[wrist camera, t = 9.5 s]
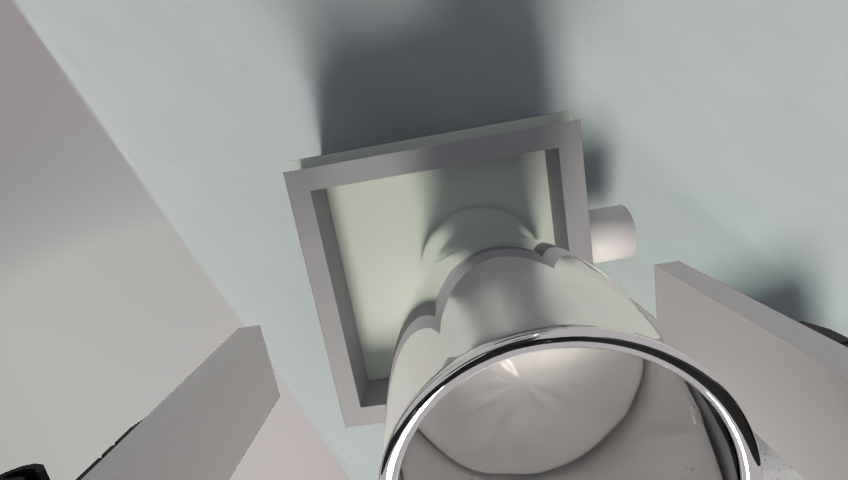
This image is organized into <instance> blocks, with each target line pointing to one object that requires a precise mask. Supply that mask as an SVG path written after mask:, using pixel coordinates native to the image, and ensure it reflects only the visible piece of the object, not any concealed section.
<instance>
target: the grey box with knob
mask: <svg viewBox="0 0 848 480" xmlns="http://www.w3.org/2000/svg"><path fill="white" fill-rule="evenodd" d="M289 163H290V167H291V171H289V172H284V173H283V174H284V178H285V182H286V186H287V190H288V194H289V199H290V203H291V207H292V211H293V215H294V219H295V223H296V227H297V231H298V235H299V240H300V244H301V248H302V252H303V256H304V260H305V264H306V268H307V272H308V276H309V281H310V285H311V289H312V293H313V297H314V301H315V305H316V309H317V313H318V317H319V321H320V326H321V330H322V334H323V338H324V342H325V346H326V350H327V354H328V358H329V362H330V367H331V371H332V375H333V379H334V383H335V387H336V391H337V395H338V399H339V403H340V408H341V412H342V416H343V420H344V424H345V428H347V427H354V426H362V425H369V424H376V423H384V421H385V407H386V395H387V385H388V378H389V372H390V365H391V359H392V352H393V348H394V344H395V340H396V337H397V333H398V330H399V327H400V323H401V320H402V317H403V314H404V312H405V309H406V307H407V305H408V303H409V301H410V299H411V297H412V296H413V294H414V292H415V290H416V288H417V286H418V285H419V283H420V282H421V280H422V279H423V275H422V255H423V251H424V247H425V244H426V242H427V240H428V238H429V236H430V235H431V233H432V232H433V230H434V229H435V228H436V227H437V226H438V225H439V224H440V223H441V222H442V221H443V220H444V219H446V218H447V217H448V216H450V215H452V214H454V213H456V212H458V211H461V210H464V209H467V208H472V207H494V208H498V209H502V210H504V211H507V212H509V213H511V214H513V215H514V216H516V217H517V218H519V219H520V220H521V221H522V222H523V223H524V224H525V225H526V226H527V227H528V228H529V229H530V231H531V232H532V233H533V235H534V237H535V239H538V240H541V241H545V242H547V243H550V244H552V245H555V246H557V247H560V248H562V249H565V250H567V251H569V252H571V253H573V254H575V255H577V256H579V257H580V258H582V259H584V260H585V261H587V262H588V263H590V264H591V265H593V263H598V262H604V261H611V260H617V259H623V258H630V257H632V256H633V255H634V253H635V250H636V244H637V237H636V229H635V225H634V222H633V219H632V216H631V214H630V212H629V211H628V209H627V208H626V207H625V206H623V205H618V206H612V207H606V208H599V209H593V210H588V201H587V190H586V179H585V168H584V157H583V146H582V135H581V125H580V119H579V120H574V121H573V112H572V110H569V111H563V112H558V113H552V114H547V115H541V116H536V117H530V118H525V119H519V120H514V121H508V122H503V123H497V124H492V125H486V126H480V127H475V128H469V129H464V130H458V131H453V132H447V133H442V134H436V135H431V136H425V137H420V138H414V139H409V140H403V141H398V142H392V143H387V144H381V145H375V146H370V147H364V148H359V149H353V150H348V151H342V152H337V153H331V154H326V155H320V156H315V157H309V158H304V159H298V160H293V161H289Z"/></svg>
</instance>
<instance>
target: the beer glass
mask: <svg viewBox="0 0 848 480" xmlns="http://www.w3.org/2000/svg"><path fill="white" fill-rule="evenodd" d="M422 275H423V279H422V280H421V282H420V283H419V285H418V286H417V288H416V290H415V292H414V294H413V296H412V297H411V299H410V301H409V303H408V305H407V307H406V309H405V312H404V314H403V317H402V320H401V323H400V327H399V330H398V333H397V337H396V340H395V344H394V348H393V352H392V359H391V365H390V372H389V378H388V385H387V395H386V407H385V421H384V441H383V456H382V462H381V466H380V472H379V478H378V480H763V468H762V460H761V455H760V450H759V447H758V443H757V440H756V437H755V434H754V432H753V429H752V427H751V425H750V422H749V421H748V419H747V417H746V415H745V413H744V412H743V410H742V408H741V407H740V405H739V404H738V402H737V401H736V400H735V398H734V397H733V396H732V394H731V393H730V392H729V391H728V390H727V388H726V387H725V386H724V385H723V384H722V383H721V382H720V381H719V380H718V379H717V378H716V377H715V376H714V375H712V374H711V373H710V372H709V371H708V370H706V369H705V368H704V367H703V366H701V365H700V364H699V363H697V362H696V361H695V360H694V359H693V358H692V357H691V356H690V355H689V353H688V352H687V351H686V350H685V349H684V348H683V347H682V346H681V345H680V344H679V343H678V342H677V340H676V339H675V338H674V337H673V336H672V335H671V334H670V333H669V332H668V331H667V330H666V329H665V328H664V327H663V326H662V325H661V324H660V323H659V322H658V321H657V320H656V319H655V318H654V317H653V316H652V315H651V314H650V313H649V312H648V311H647V310H646V309H645V308H644V307H643V306H642V305H641V304H640V303H639V302H638V301H637V300H636V299H634V298H633V297H632V296H631V295H630V294H629V293H628V292H626V291H625V290H624V289H623V288H622V287H621V286H620V285H618V284H617V283H616V282H615V281H614V280H612V279H611V278H610V277H609V276H607V275H606V274H604V273H603V272H601V271H600V270H598V269H597V268H596V267H594V266H593V265H591V264H590V263H588V262H587V261H585V260H584V259H582V258H580V257H579V256H577V255H575V254H573V253H571V252H569V251H567V250H565V249H562V248H560V247H557V246H555V245H552V244H550V243H547V242H545V241H541V240H538V239H535V237H534V235H533V233H532V232H531V231H530V229H529V228H528V227H527V226H526V225H525V224H524V223H523V222H522V221H521V220H520V219H519V218H517V217H516V216H514V215H513V214H511V213H509V212H507V211H504V210H502V209H498V208H494V207H472V208H467V209H464V210H461V211H458V212H456V213H454V214H452V215H450V216H448V217H447V218H446V219H444V220H443V221H442V222H441V223H440V224H439V225H438V226H437V227H436V228H435V229H434V230H433V232H432V233H431V235H430V236H429V238H428V240H427V242H426V244H425V247H424V251H423V255H422Z"/></svg>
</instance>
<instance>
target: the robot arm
mask: <svg viewBox="0 0 848 480" xmlns="http://www.w3.org/2000/svg"><path fill="white" fill-rule="evenodd" d="M654 274H655V294H656V313H657V321H658V322H659V323H660V324H661V325H662V326H663V327H664V328H665V329H666V330H667V331H668V332H669V333H670V334H671V335H672V336H673V337H674V338H675V339H676V340H677V342H678V343H679V344H680V345H681V346H682V347H683V348H684V349H685V350H686V351H687V352H688V353H689V355H690V356H691V357H692V358H693V359H694V360H695V361H696V362H697V363H699V364H700V365H701V366H703V367H704V368H705V369H706V370H708V371H709V372H710V373H711V374H712V375H714V376H715V377H716V378H717V379H718V380H719V381H720V382H721V383H722V384H723V385H724V386H725V387H726V388H727V390H728V391H729V392H730V393H731V394H732V396H733V397H734V398H735V400H736V401H737V402H738V404H739V405H740V407H741V408H742V410H743V412H744V413H745V415H746V417H747V419H748V421H749V422H750V425H751V427H752V429H753V432H754V433H755V434H756V435H757V436H758V437H760V438H761V439H762V440H763V441H764V442H765V443H766V444H767V445H768V446H769V447H770V448H771V449H772V450H774V451H775V452H776V453H777V454H778V455H779V456H780V457H781V458H782V459H783V460H784V461H785V462H786V463H787V464H789V465H790V466H791V467H792V468H793V469H794V470H795V471H796V472H797V473H798V474H799V475H800V476H801V477H803V478H804V479H805V480H848V338H847V337H845V336H843V335H841V334H839V333H837V332H835V331H832V330H830V329H827V328H824V327H820V326H817V325H813V324H810V323H807V322H803V321H799V322H797V321H795V320H793V319H791V318H789V317H787V316H785V315H783V314H781V313H779V312H777V311H775V310H773V309H771V308H769V307H768V306H766V305H764V304H762V303H760V302H758V301H756V300H754V299H752V298H750V297H748V296H746V295H744V294H742V293H740V292H738V291H736V290H734V289H732V288H730V287H728V286H727V285H725V284H723V283H721V282H719V281H717V280H715V279H713V278H711V277H709V276H707V275H705V274H703V273H701V272H699V271H697V270H695V269H693V268H691V267H689V266H688V265H686V264H684V263H682V262H680V261H675V262H669V263H662V264H656V265H654ZM279 397H280V394H279V391H278V387H277V383H276V380H275V376H274V373H273V369H272V366H271V362H270V359H269V356H268V352H267V349H266V345H265V342H264V338H263V335H262V331H261V328H260V325H258V326H251V327H245V328H238V329H237V330H236V331H235V332H234V333H233V334H232V335H231V336H230V337H229V338H228V339H227V340H226V341H225V342H224V343H223V344H222V345H221V346H220V347H219V348H217V349H216V351H214V353H212V354H211V355H210V356H209V357H208V358H207V359H206V360H205V361H204V362H203V363H202V364H201V365H200V366H199V367H198V368H197V369H196V370H195V371H194V372H192V374H190V375H189V376H188V377H187V378H186V379H185V380H184V381H183V382H182V383H181V384H180V385H179V386H178V387H177V388H176V389H175V390H174V391H173V392H172V393H171V394H170V395H169V396H168V397H166V398H165V399H164V400H163V401H162V402H161V403H160V404H159V405H158V406H157V407H156V408H155V409H154V410H153V411H152V412H151V413H150V414H149V415H148V416H147V417H146V418H144V419H143V420H141V421H140V422H138V423H137V424H135V425H134V426H133V427H131V428H130V429H129V430H128V431H127V432H126V433H125V434H124V435H122V437H120V438H119V439H118V440H117V441H116V442H115V445H113V446H111V447H110V448H109V449H108V450H107V451H106V452H105V453H104V454H103V455H102V458H98V459H97V460H96V461H95V462H94V463H93V464H92V465H91V466H90V467H89V468H88V469H87V470H86V471H84V472H83V473H82V474H81V475H80V476H79V477H78V478H77V479H76V480H229V479H230V477H231V476H232V474H233V472H234V471H235V469H236V467H237V466H238V464H239V463H240V461H241V459H242V458H243V456H244V454H245V453H246V451H247V449H248V448H249V446H250V445H251V443H252V441H253V440H254V438H255V436H256V435H257V433H258V431H259V430H260V428H261V426H262V425H263V423H264V422H265V420H266V418H267V417H268V415H269V413H270V412H271V410H272V408H273V407H274V405H275V403H276V402H277V400H278V398H279ZM0 480H50V479H49V476H48V474H47V472H46V470H45V468H44V465H42V464H31V465H25V466H21V467H18V468H16V469H13V470H10V471H8V472H5V473H3V474H1V475H0Z"/></svg>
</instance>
